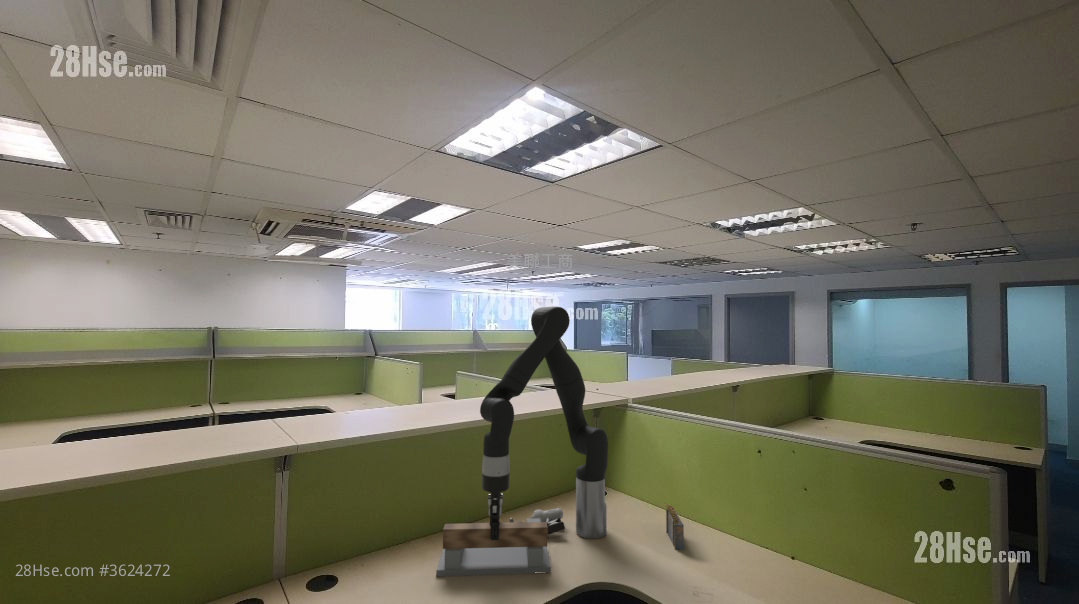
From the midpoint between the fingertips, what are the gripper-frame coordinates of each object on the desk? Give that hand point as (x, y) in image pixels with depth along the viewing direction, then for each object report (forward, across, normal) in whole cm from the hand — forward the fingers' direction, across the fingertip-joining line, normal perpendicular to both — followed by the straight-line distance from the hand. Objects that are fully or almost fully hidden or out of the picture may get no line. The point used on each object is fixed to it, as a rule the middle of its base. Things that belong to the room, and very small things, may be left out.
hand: (494, 534), depth 119 cm
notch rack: (+9, +3, 0) cm, 9 cm away
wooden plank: (+3, 0, 0) cm, 3 cm away
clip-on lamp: (+9, +22, -13) cm, 27 cm away
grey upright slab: (+9, +13, -55) cm, 57 cm away
